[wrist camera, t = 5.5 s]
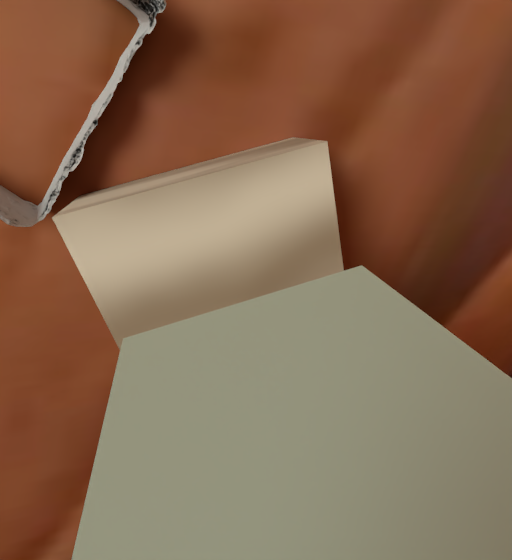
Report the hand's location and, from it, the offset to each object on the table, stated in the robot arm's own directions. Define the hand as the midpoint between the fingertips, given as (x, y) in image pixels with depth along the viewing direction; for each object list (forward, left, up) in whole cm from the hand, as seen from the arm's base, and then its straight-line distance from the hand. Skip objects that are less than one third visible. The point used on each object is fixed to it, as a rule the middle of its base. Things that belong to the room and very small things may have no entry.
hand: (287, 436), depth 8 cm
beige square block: (0, 0, -11) cm, 11 cm away
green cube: (0, 0, -2) cm, 2 cm away
